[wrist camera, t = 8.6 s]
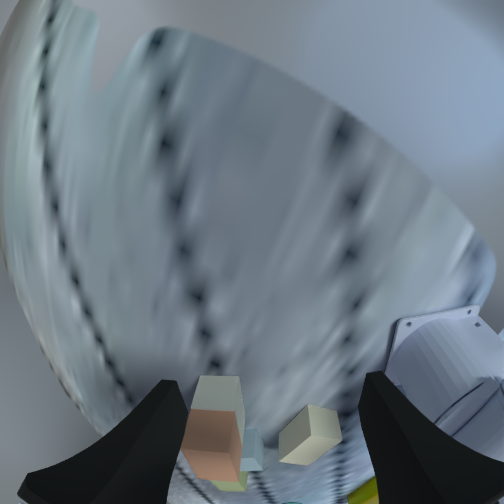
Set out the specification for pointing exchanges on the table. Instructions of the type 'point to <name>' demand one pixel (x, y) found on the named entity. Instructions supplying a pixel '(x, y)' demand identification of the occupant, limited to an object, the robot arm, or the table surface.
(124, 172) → the table surface
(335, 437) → the cream brick
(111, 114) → the table surface
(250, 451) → the blue brick
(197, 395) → the grey brick
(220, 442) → the terracotta brick
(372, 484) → the element tile
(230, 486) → the olive brick
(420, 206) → the table surface
